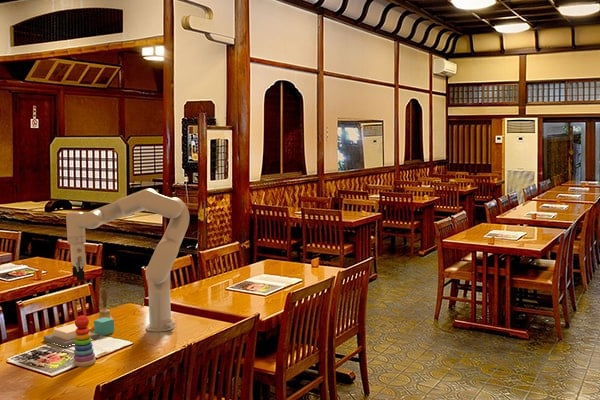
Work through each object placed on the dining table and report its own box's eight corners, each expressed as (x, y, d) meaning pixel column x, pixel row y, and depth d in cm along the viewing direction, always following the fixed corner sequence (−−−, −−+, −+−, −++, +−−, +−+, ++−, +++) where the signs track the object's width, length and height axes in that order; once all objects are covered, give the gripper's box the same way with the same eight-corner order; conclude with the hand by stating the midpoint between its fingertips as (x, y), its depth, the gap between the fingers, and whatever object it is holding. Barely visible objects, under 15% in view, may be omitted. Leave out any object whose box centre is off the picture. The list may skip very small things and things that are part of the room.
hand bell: (117, 319, 292) (115, 286, 291) (109, 324, 284) (108, 290, 283) (100, 318, 293) (99, 286, 292) (92, 323, 285) (91, 290, 284)
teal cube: (114, 332, 271) (113, 319, 271) (102, 336, 267) (102, 322, 266) (106, 330, 275) (105, 317, 275) (94, 333, 270) (93, 320, 270)
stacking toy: (76, 360, 236) (74, 312, 234) (97, 359, 237) (95, 312, 235) (70, 367, 228) (68, 318, 226) (92, 366, 229) (90, 317, 227)
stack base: (98, 338, 263) (98, 326, 263) (65, 348, 251) (64, 336, 250) (77, 331, 273) (76, 320, 273) (43, 340, 260) (43, 329, 260)
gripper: (89, 241, 264) (91, 280, 265) (81, 236, 278) (83, 273, 280) (71, 243, 260) (73, 283, 261) (64, 238, 275) (66, 275, 276)
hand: (78, 278), depth 271 cm, fingers open, 9 cm apart
